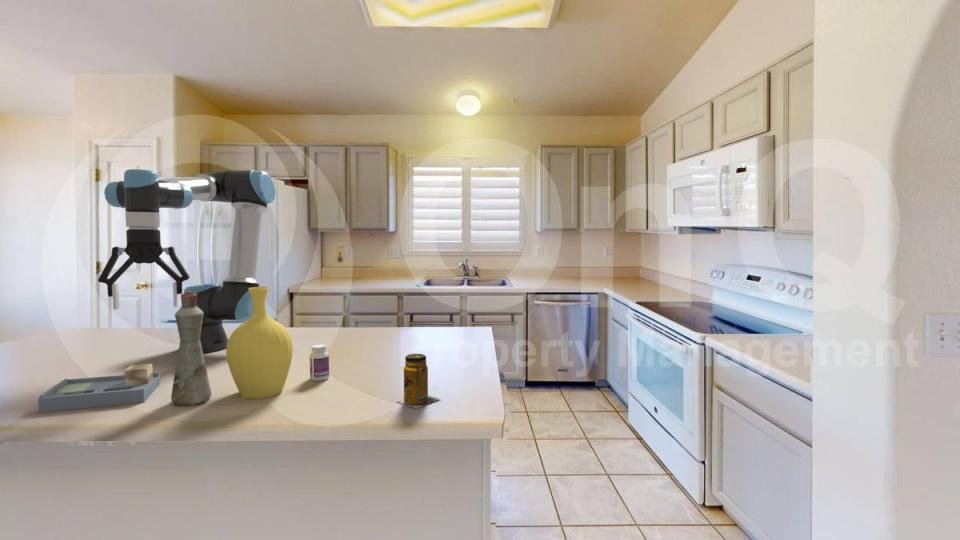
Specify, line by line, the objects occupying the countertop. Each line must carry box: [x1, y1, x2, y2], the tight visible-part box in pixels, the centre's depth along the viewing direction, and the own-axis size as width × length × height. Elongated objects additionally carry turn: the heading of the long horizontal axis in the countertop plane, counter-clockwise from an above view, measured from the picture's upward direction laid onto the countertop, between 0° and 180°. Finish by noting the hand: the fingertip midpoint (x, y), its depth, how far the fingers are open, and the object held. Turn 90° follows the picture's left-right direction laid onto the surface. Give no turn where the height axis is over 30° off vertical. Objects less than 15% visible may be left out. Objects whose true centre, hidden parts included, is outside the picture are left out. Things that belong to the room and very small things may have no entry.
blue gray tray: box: [37, 371, 161, 414], centre depth 126 cm, size 21×15×4 cm
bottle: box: [170, 291, 212, 407], centre depth 122 cm, size 9×9×28 cm
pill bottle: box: [309, 344, 330, 382], centre depth 143 cm, size 5×5×10 cm
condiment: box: [397, 353, 440, 409], centre depth 125 cm, size 7×8×12 cm
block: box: [124, 363, 154, 386], centre depth 131 cm, size 5×5×4 cm
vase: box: [225, 286, 294, 400], centre depth 130 cm, size 16×16×28 cm
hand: (146, 307), depth 133 cm, fingers open, 13 cm apart
